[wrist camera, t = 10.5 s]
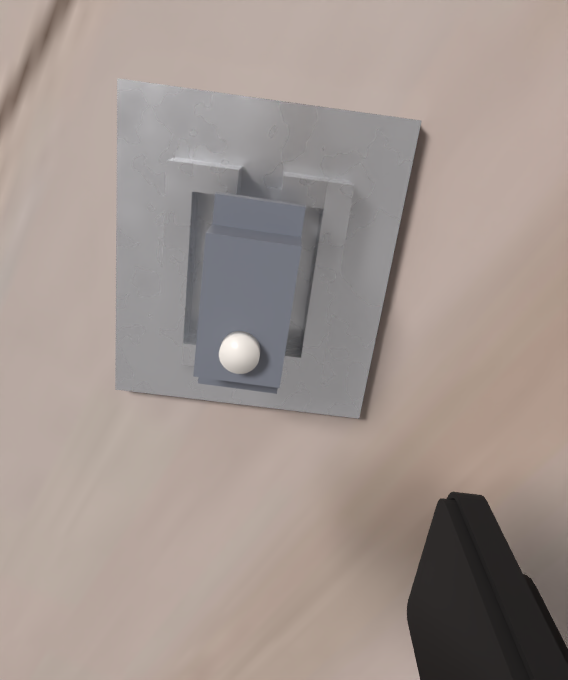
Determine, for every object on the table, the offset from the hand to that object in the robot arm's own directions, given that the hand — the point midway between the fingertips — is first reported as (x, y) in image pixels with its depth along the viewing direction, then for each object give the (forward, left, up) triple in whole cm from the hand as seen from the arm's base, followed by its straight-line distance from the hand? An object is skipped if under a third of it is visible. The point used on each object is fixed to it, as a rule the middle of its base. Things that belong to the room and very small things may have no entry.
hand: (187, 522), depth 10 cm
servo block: (0, 0, -19) cm, 19 cm away
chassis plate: (0, 0, -20) cm, 20 cm away
